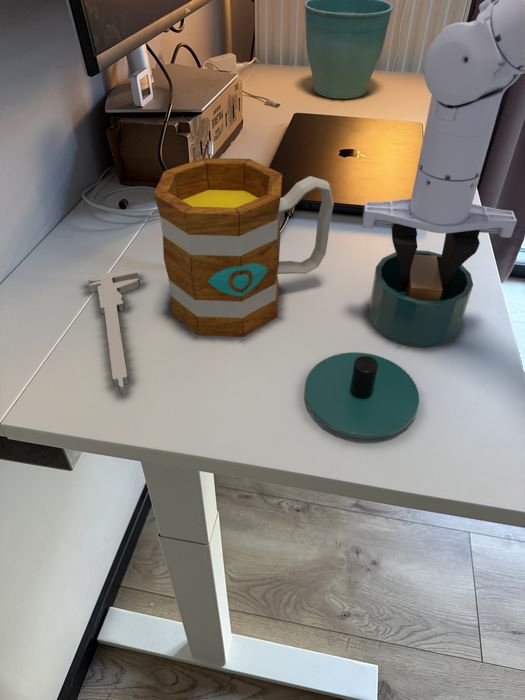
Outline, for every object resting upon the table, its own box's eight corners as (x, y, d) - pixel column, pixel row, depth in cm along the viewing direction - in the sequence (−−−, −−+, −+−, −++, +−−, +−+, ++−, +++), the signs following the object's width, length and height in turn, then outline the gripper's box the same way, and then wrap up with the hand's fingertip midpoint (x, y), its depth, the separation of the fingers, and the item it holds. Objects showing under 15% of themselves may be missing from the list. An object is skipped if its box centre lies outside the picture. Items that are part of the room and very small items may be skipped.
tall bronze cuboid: (430, 281, 63) (436, 255, 60) (435, 316, 58) (442, 289, 56) (402, 279, 63) (407, 253, 61) (405, 313, 58) (411, 287, 56)
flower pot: (380, 81, 128) (392, -4, 116) (381, 107, 115) (394, 14, 103) (304, 77, 130) (308, -6, 119) (296, 102, 117) (300, 11, 105)
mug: (184, 350, 59) (167, 226, 48) (159, 281, 68) (141, 166, 58) (348, 312, 63) (364, 193, 53) (304, 253, 73) (310, 142, 63)
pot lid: (413, 364, 57) (421, 330, 54) (421, 448, 49) (432, 414, 46) (308, 355, 58) (311, 321, 55) (299, 435, 50) (302, 401, 47)
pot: (453, 294, 66) (465, 253, 62) (464, 351, 58) (479, 308, 54) (368, 288, 67) (375, 247, 63) (369, 342, 59) (376, 299, 55)
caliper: (141, 277, 69) (91, 280, 68) (140, 270, 68) (89, 273, 68) (127, 393, 54) (63, 398, 53) (125, 386, 53) (60, 391, 53)
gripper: (520, 154, 53) (482, 271, 62) (370, 146, 54) (355, 261, 63) (537, 187, 47) (493, 309, 57) (370, 177, 49) (354, 297, 58)
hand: (420, 286), depth 60 cm, fingers closed on tall bronze cuboid, 3 cm apart
